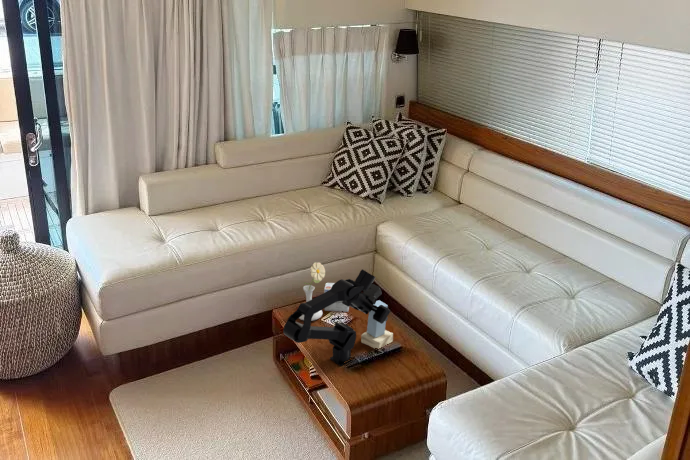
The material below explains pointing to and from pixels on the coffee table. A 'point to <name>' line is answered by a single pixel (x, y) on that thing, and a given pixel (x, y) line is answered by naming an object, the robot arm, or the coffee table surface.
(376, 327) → the blue pillar
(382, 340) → the maple block
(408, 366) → the coffee table surface
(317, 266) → the flower in vase
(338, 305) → the light bulb box
